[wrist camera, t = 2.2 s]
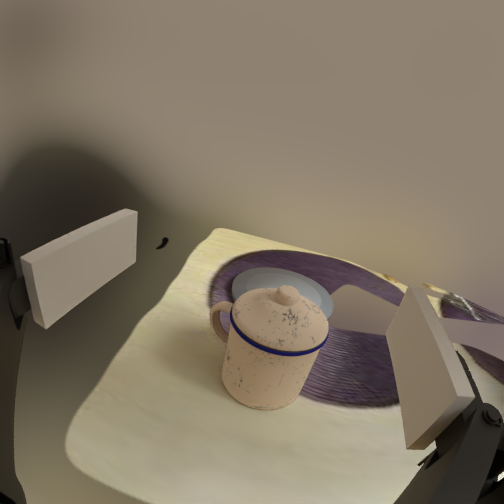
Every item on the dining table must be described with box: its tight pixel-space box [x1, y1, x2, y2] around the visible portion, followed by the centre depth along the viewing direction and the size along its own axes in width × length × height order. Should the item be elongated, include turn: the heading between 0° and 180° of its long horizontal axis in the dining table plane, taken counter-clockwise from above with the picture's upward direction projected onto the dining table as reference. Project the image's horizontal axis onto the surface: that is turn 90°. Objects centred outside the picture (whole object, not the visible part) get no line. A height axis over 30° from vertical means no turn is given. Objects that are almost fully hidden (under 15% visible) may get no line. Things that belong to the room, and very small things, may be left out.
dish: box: [231, 268, 333, 321], centre depth 44 cm, size 16×16×1 cm
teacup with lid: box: [210, 285, 329, 410], centre depth 27 cm, size 12×9×12 cm
